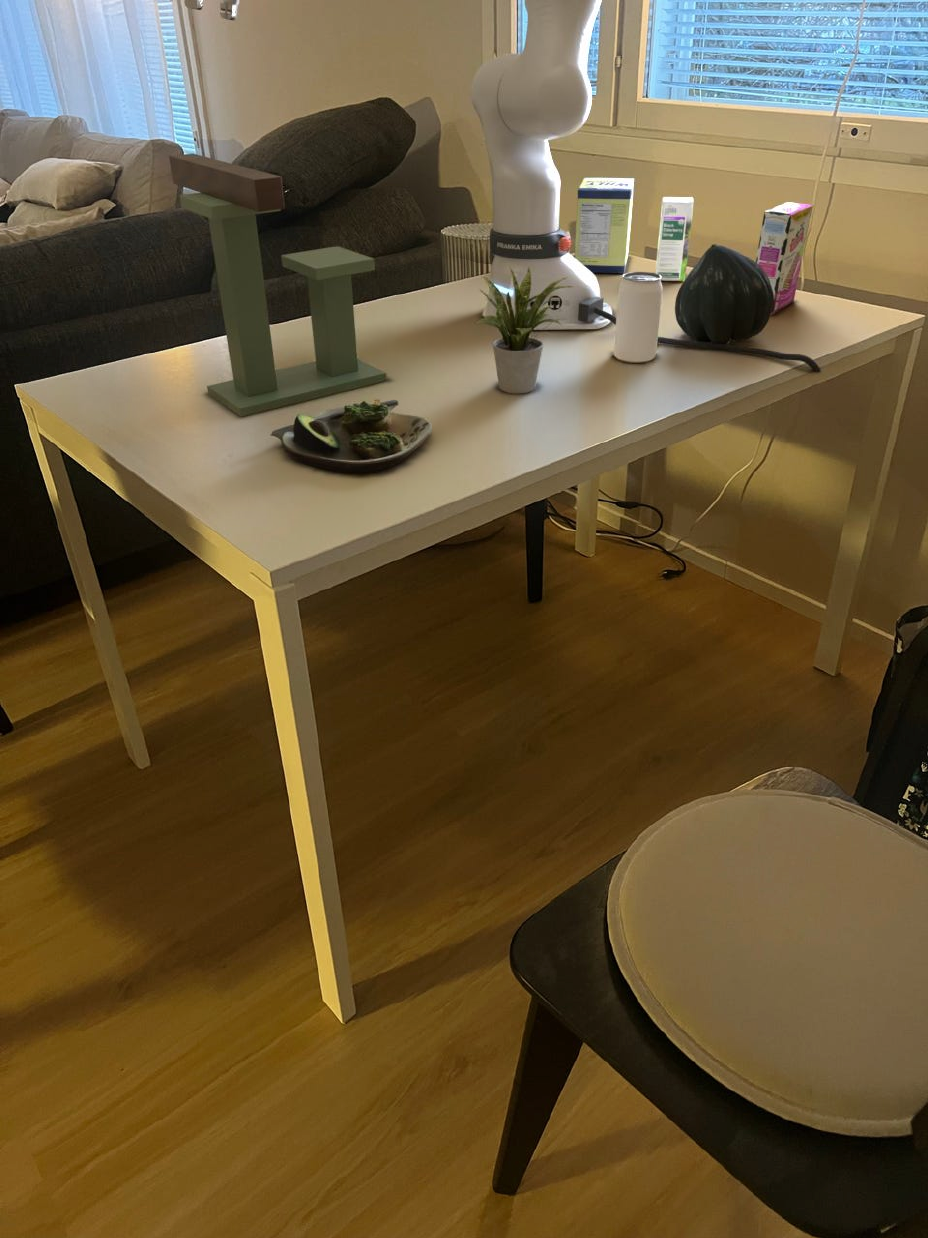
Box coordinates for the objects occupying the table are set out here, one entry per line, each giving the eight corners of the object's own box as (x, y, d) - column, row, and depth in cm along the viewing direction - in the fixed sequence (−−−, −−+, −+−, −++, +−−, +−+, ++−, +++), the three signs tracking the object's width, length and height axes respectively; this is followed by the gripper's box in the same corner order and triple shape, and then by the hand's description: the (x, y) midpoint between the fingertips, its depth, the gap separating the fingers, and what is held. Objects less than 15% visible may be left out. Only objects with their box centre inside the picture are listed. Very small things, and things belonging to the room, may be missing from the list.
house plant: (583, 404, 126) (591, 280, 117) (484, 411, 124) (484, 286, 115) (557, 370, 137) (563, 255, 128) (466, 376, 136) (465, 260, 126)
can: (655, 364, 139) (663, 282, 132) (611, 362, 140) (618, 280, 133) (656, 351, 144) (664, 271, 137) (614, 349, 145) (621, 269, 138)
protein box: (628, 256, 197) (635, 176, 189) (625, 274, 185) (632, 189, 176) (579, 254, 199) (583, 175, 190) (573, 272, 186) (577, 188, 178)
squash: (802, 315, 140) (772, 225, 142) (716, 330, 136) (687, 237, 138) (753, 356, 154) (726, 273, 155) (674, 370, 150) (648, 285, 151)
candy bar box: (773, 315, 159) (791, 213, 150) (746, 311, 162) (762, 210, 153) (796, 301, 167) (814, 203, 158) (769, 297, 169) (785, 200, 160)
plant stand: (208, 393, 131) (173, 194, 116) (348, 361, 142) (333, 176, 127) (241, 416, 123) (208, 207, 109) (386, 380, 134) (375, 186, 120)
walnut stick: (173, 183, 124) (168, 155, 122) (197, 180, 125) (193, 153, 123) (258, 211, 106) (254, 179, 104) (285, 208, 108) (281, 176, 106)
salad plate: (346, 403, 127) (343, 370, 124) (460, 425, 120) (459, 391, 117) (256, 454, 113) (251, 419, 110) (379, 483, 106) (376, 445, 103)
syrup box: (654, 281, 180) (663, 200, 172) (654, 273, 185) (662, 195, 177) (684, 281, 179) (694, 201, 171) (683, 274, 184) (693, 195, 176)
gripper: (195, -138, 106) (193, 5, 112) (272, -93, 123) (266, 28, 130) (146, -145, 107) (146, -3, 113) (229, -100, 124) (225, 21, 131)
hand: (211, 14), depth 122 cm, fingers open, 8 cm apart
